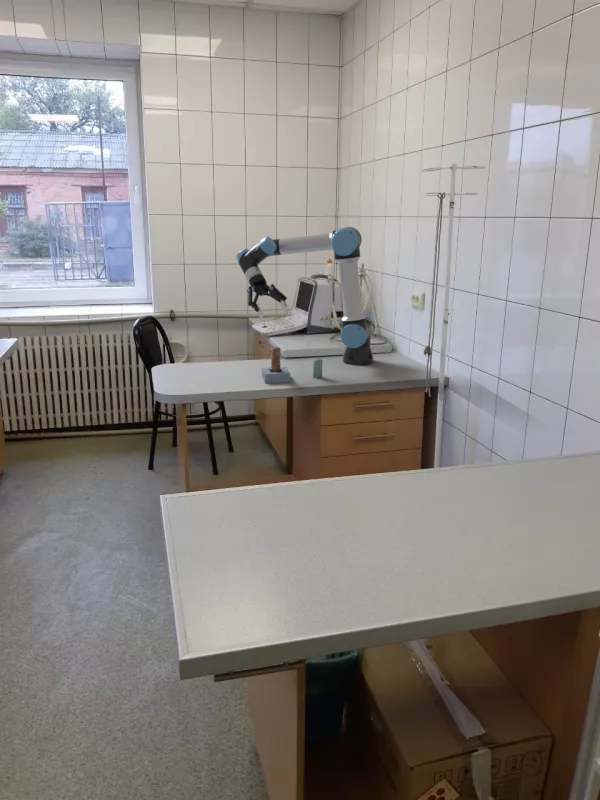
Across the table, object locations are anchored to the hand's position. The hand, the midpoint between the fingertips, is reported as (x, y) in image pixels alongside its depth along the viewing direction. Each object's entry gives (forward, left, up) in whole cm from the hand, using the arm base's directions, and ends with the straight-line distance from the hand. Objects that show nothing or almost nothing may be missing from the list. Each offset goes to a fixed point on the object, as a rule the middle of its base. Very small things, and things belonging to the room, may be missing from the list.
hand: (274, 315), depth 282 cm
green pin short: (-17, +15, -26) cm, 35 cm away
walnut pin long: (+2, +16, -26) cm, 30 cm away
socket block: (+2, +16, -26) cm, 30 cm away
